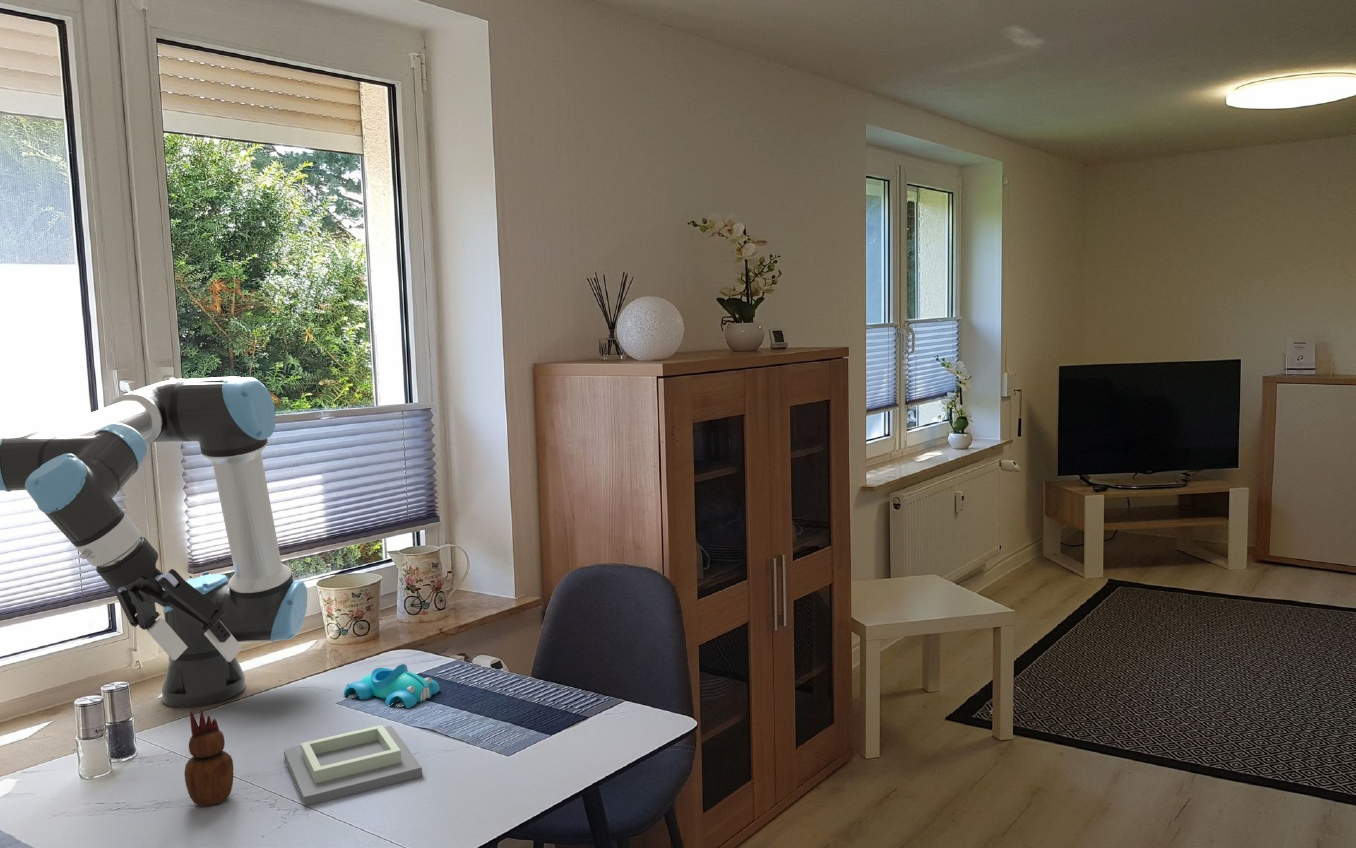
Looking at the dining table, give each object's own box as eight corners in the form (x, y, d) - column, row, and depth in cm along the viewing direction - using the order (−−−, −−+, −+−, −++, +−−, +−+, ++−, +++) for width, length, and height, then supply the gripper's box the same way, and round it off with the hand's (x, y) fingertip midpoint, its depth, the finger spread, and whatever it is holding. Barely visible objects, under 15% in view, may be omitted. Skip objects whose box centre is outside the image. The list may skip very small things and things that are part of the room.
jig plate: (284, 758, 170) (282, 738, 170) (391, 733, 179) (390, 714, 179) (304, 806, 153) (302, 784, 153) (422, 776, 162) (421, 755, 161)
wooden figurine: (186, 814, 152) (178, 718, 150) (188, 798, 157) (180, 705, 156) (235, 804, 155) (227, 710, 153) (235, 788, 160) (227, 697, 158)
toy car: (408, 712, 190) (406, 678, 189) (336, 699, 198) (334, 666, 197) (445, 692, 199) (443, 659, 199) (375, 680, 207) (373, 649, 207)
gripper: (50, 572, 148) (141, 671, 158) (150, 567, 135) (242, 675, 145) (90, 538, 153) (175, 635, 163) (190, 529, 141) (276, 636, 151)
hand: (207, 654), depth 154 cm, fingers open, 13 cm apart
